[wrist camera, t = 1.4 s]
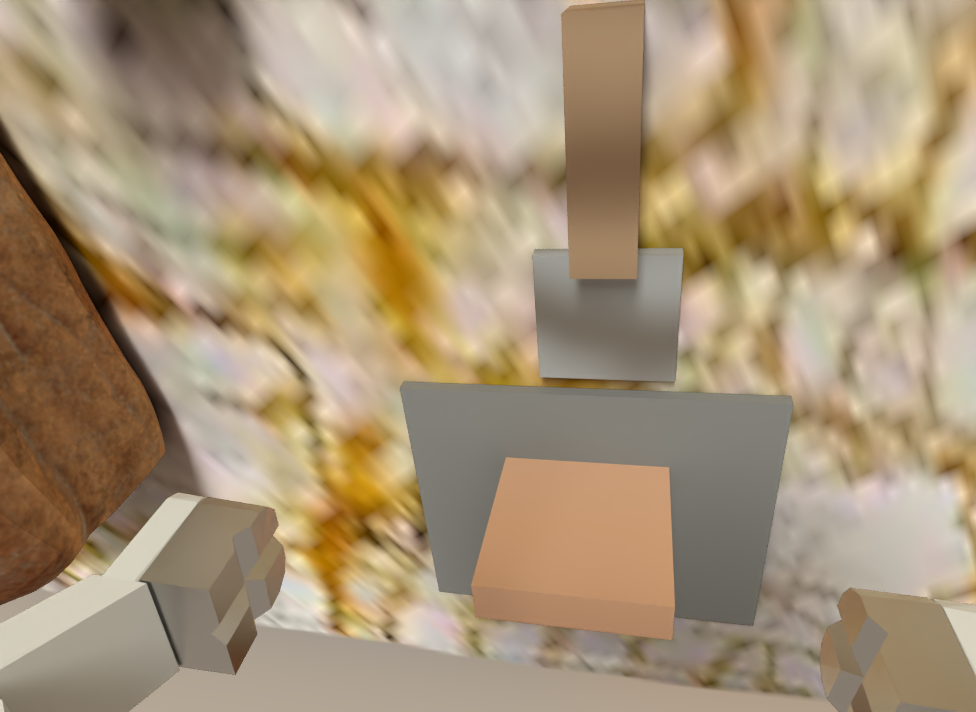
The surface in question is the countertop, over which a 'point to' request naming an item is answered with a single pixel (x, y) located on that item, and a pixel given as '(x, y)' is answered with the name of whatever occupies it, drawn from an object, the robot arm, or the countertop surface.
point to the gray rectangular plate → (612, 440)
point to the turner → (605, 217)
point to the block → (579, 548)
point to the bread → (58, 405)
